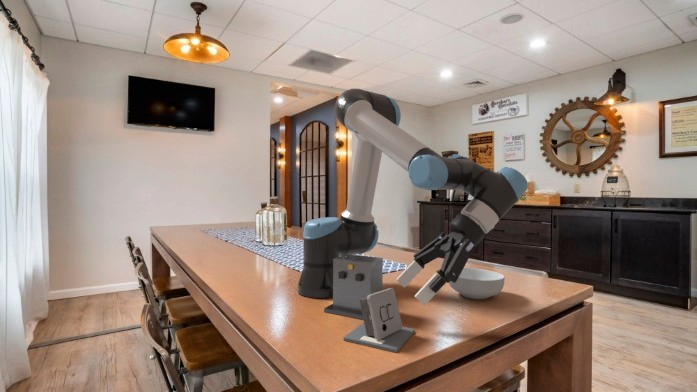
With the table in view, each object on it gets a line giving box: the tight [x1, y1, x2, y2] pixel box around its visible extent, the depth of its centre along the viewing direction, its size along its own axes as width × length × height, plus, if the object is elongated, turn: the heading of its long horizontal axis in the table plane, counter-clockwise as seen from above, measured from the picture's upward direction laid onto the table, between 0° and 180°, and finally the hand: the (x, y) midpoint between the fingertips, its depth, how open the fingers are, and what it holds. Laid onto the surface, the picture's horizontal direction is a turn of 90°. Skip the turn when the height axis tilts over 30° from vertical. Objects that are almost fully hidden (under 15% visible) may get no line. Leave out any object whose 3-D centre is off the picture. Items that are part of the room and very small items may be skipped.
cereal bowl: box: [448, 267, 505, 300], centre depth 109 cm, size 17×17×7 cm
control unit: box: [323, 254, 384, 321], centre depth 94 cm, size 14×12×14 cm
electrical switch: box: [360, 287, 403, 340], centre depth 78 cm, size 9×5×9 cm, turn 138°
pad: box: [343, 321, 415, 353], centre depth 77 cm, size 12×12×1 cm
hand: (408, 291), depth 78 cm, fingers open, 13 cm apart
